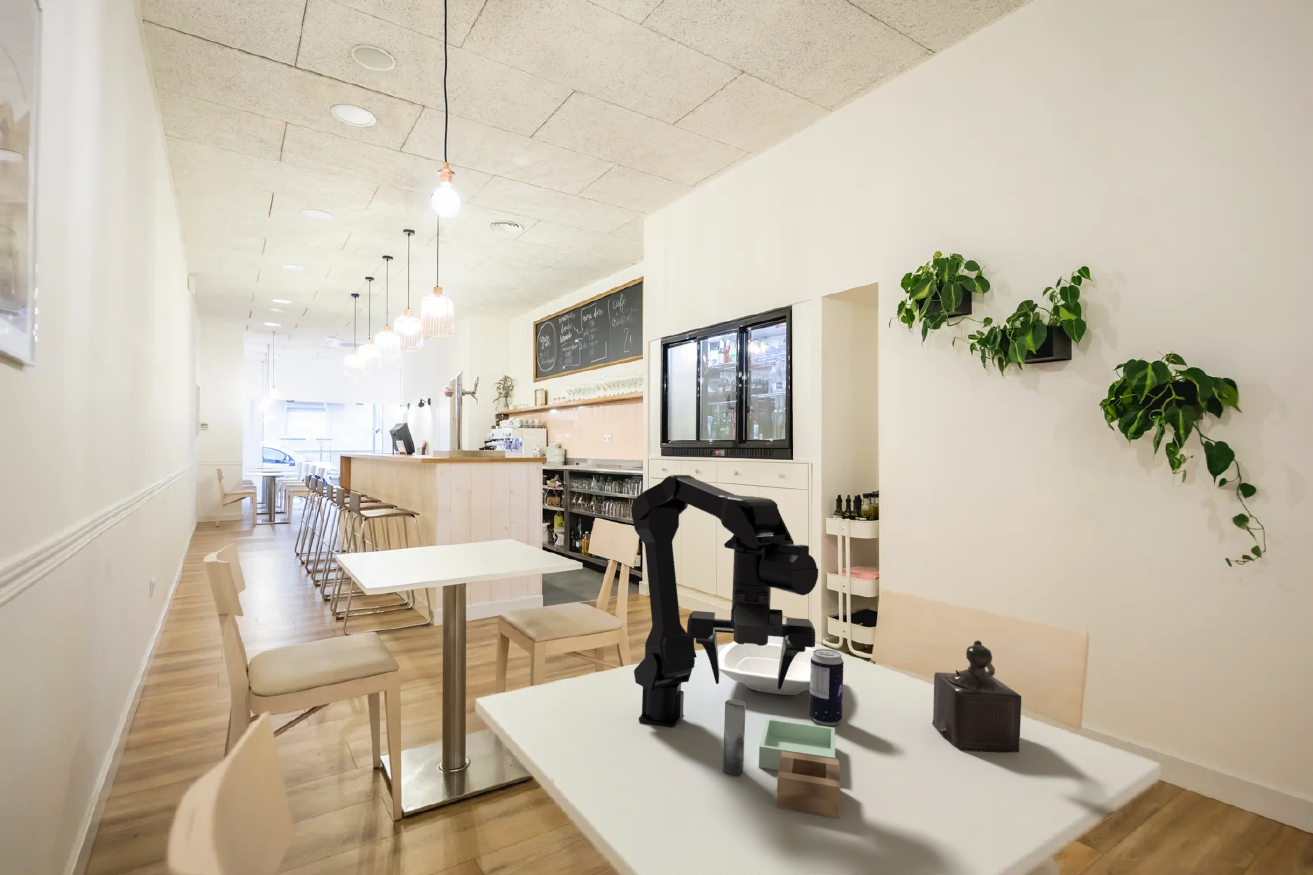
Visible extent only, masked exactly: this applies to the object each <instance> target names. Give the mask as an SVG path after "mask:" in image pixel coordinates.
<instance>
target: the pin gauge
mask: <svg viewBox="0 0 1313 875" xmlns="http://www.w3.org/2000/svg"><path fill="white" fill-rule="evenodd" d="M724 702H725V703H724V724H723V725H724V726H723V727H724V729H723V730H724V732H723V759H722V760H723V761H722V771H723V773H724V774H725V775H727V776H730V777H740V776H742V775H743V774H744V762H745V761H744V760H745V736H746V734H745V733H746V732H745V731H746V730H745V727H746V706H747V705H746V702H745V701H743V700H740V699H735V698H734V699H733V698H732V699H731V698H730V699H727V700H725V701H724Z"/></svg>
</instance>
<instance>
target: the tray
mask: <svg viewBox="0 0 1313 875" xmlns="http://www.w3.org/2000/svg"><path fill="white" fill-rule="evenodd" d="M758 749H759V750H758V768H760V769H768V770H773V771H779V766H780V760H781V754H782V751H784V752H791V753H797V754H804V755H811V756H817V757H824V758H830V759H836V727H831V726H826V725H819V724H818V725H817V724H809V723H803V722H796V721H789V720H788V721H787V720H781V719H773V718H767V717H766V718H765V722H764V726H763V730H762V735H761V739H760V742H759V748H758Z"/></svg>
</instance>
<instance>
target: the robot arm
mask: <svg viewBox="0 0 1313 875" xmlns="http://www.w3.org/2000/svg"><path fill="white" fill-rule="evenodd" d="M689 506H691V507H693V508H696V509H697V510H700V511H702V512H704V513H707V514H710V515H711V516H713V517H715V518H717V519H719V521H720V522H721V525H722V526H723V528H724V529H726V530H727V531H728V532H730V533H731V534H733V535H732V536H731V538H730V539H728V540H727V541H726V542H725V543H724V545H723V546H724V548H725V549H731V550H733V569H732V570H733V571H732V598H731V612H730V619H719V618H716V612H713V611H702V610H701V611H700V610H699V611H698V610H693V611H692V612H691V613H690V614H689V616H688V618H687V625H686V630H685V628H684V627H683V625H682V623H681V617H680V605H679V597H678V596H679V595H678V586H677V576H676V569H675V568H676V567H675V558H674V557H675V556H674V548H673V540H674V539H675V536H676V534H677V531H678V529H679V526H680V514H682V513H683V512H684V511H686V509H688V507H689ZM630 512H631V513H630V514H631V516H632V517H631V518H632V522H633V528H634V531H635V533H636V534H637V535H638V537H639V539H641V541H642V542H643V544H644V548H645V549H644V550H645V551H644V552H645V560H646V572H647V582H648V583H647V584H648V592H649V602H650V613H651V614H650V615H651V622H652V623H651V629H650V631H649V634H648V636H647V638H646V639H645V642H644V658H643V659H642V661H640V662H639V664H638V665H637V666H636V667H635V669H634V670H633V674H634V681H635V684H637V685H639V686H641V687H642V697H641V698H642V700H641V701H642V702H641V703H642V704H641V714H640V716H639V717H638V722H639V723H640V722H641V723H646V724H652V725H653V724H654V725H660V726H665V727H666V726H667V727H676V725H677V724H678V722H679V721H680V719H681V718H682V717H683V715H684V701H685V700H684V698H685V691H683V690H682V684H683V683H689V682H690V679H691V678H690V677H691V674H692V671H693V669H694V668H695V663H696V659H695V658H698V657H697V652H696V648H695V643H696V644H698V645H702V646H703V648H704V650H705V652H706V655H707V656H708V660H709V664H710V667H711V670H712V674H713V677H714V682H715V685H719V684H720V670H719V659H718V656H719V650H718V648H719V647H718V637H717V636H718V635H717V633H726V634H733V642H734V641H735V642H736V643H738V644H745V643H748V644H757V645H758V646H764V645H766V644H767V643H769V637H775V638H776V637H777V638H782V643H781V645H782V650H781V657H780V664H779V671H778V689H781V687H782V684H783V682H784V679H785V677H786V674H787V671H788V669H789V666H790V664H791V662H792V660H793V659H794V657H795V656H796V655H797V653H798V652H805V650H806V648H815V647H816V629H815V627H814V624H813V622H812V621H811V620H810V619H809V618H798V617H796V618H795V617H786V618H785V623H783V619H784V618H783V615H784V614H783V609H775V608H774V609H773V608H771V594H772V593H771V592H772V588H773V589H776V590H781V591H784V592H788V593H792V594H794V595H795V594H796V595H799V596H806V595H808V594H810V593H811V592H812V591H813V589H814V588H815V587H816V584H817V581H818V578H819V568H818V567H817V562H816V560H815V559H814V557H813V556H812V555H811V554H810V547H809V545H806V544H794V543H795V542H794V539H793V538H792V535H791V533H790V531H789V529H788V527H787V525H786V523H785V521H784V520H783V517H782V515H781V513H780V510H779V507H778V504H777V502H776V501H774V500H773V499H771V498H766V497H761V496H760V497H759V496H747V495H739V494H734V493H732V492H729V491H728V490H727V491H726V490H724V489H721V488H720V487H717V486H714V485H712V484H709V483H707V482H704V481H701V480H699V479H696V478H695V477H694V476H692V475H690V474H671V475H668V476H666V477H665V478H664V479H663V480H662V481H661V482H659V483H658V484H656V485H654V486H651V487H650V488H648V489H646V490H644V491H643V492H642V493H641V494H639V495H637V497H636V498H635V499H634V501H633V502H632V504H631V509H630ZM805 647H806V648H805Z"/></svg>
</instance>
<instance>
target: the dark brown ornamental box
mask: <svg viewBox="0 0 1313 875" xmlns="http://www.w3.org/2000/svg"><path fill="white" fill-rule="evenodd" d="M982 644H983V643H982V641H981V640H975V641H973V645H971V646H967V647H966V653H965V655H966V657H965V658H966V659H967V660H968V662H969V666H968V667H967V669H965V670H960V671H958V670H957V669H955V673H954V672H939V671H938V672H937V671H936V672H934V677H933V678H934V679H933V715H932V723H931V725H932V726H933V727H934V728H935V729H936V730H937V731H938V733H939V734H940V735H941V736H942V737H943V738H944V739H945V740H947V741H948V742H949V743H950V744H951V745H953V746H954V747H956V748H958V749H960V750H963V751H971V752H982V753H983V752H988V753H1019V752H1020V741H1021V740H1020V738H1021V719H1022V696H1021V695H1020V694H1019V693H1017V692H1016V691H1015V690H1013V689H1012V688H1011V687H1009V686H1007V685H1006V684H1004V683H1003V682H1001V681H1000V680H999V679H997V678H995V677H994V676H995V674H996V670H995V666H994V665H993V664H992V662H993V655H992V651H991V650H990V649H989V648H987V647H985V646H984V645H982ZM986 668H987V670H986Z"/></svg>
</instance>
